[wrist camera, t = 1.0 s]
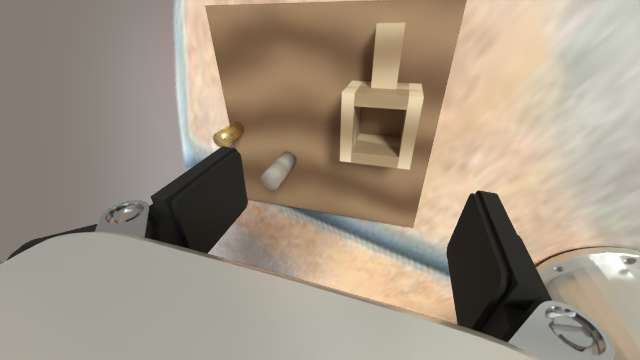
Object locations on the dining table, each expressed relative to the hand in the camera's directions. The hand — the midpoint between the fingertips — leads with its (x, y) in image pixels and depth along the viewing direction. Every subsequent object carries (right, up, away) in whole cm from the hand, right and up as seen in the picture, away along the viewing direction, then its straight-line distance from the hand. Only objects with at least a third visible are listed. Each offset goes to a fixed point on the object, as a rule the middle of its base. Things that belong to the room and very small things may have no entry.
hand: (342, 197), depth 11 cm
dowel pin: (-10, +7, +19) cm, 23 cm away
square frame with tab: (+5, +9, +13) cm, 16 cm away
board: (0, +7, +17) cm, 19 cm away
